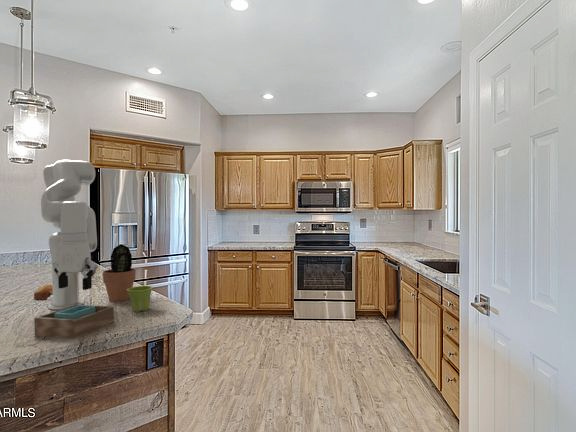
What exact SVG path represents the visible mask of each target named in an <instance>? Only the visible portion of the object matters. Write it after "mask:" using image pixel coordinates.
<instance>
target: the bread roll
mask: <svg viewBox="0 0 576 432" xmlns="http://www.w3.org/2000/svg"><path fill="white" fill-rule="evenodd" d="M50 296H53V288H52V284H44V285H42V286H39V287H38V288H37V289H36V290H35V291H34V293H33V298H34V299H35V300H37V301H45V300H46V301H47V298H49V297H50Z"/></svg>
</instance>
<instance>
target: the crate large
mask: <svg viewBox="0 0 576 432" xmlns="http://www.w3.org/2000/svg"><path fill="white" fill-rule="evenodd" d="M85 305H86V304H85ZM76 306H79V305H73V306H70V307H67V308H64V309H59V310H53V311H52V312H48V313H45V314H42V315H39V316H36V317H34V319H33V321H34V322H33V325H34V336H35V337H36V336H37V337H49V338H50V337H52V338H61V337H62V338H64V339H65V338H66V339H74V340H75V339H79V338H81V337H84V336H86V335H88V334H90V333H92V332H96V331H97V330H100V329H102V328H104V327H106V325H107V326H108V325H112V324H113V322H115V321H114V320H115V316H114V315H115V311H114V306H112V305H111V306H110V305H93V304H92V305H89V304H88V305H86V306H95V309H96V312H95V313H92V314H90V315H87V316H84V317H81V318H79V319H60V318H54V313H57V312H60V311H63V310H66V309H69V308H72V307H76ZM101 327H102V328H101ZM99 328H100V329H99Z"/></svg>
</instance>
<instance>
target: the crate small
mask: <svg viewBox="0 0 576 432" xmlns="http://www.w3.org/2000/svg"><path fill="white" fill-rule="evenodd" d="M95 306H96V305H93V306H86V304H83V305H79V306H76V307H72V308H69V309H66V310H63V311H60V312H57V313H54V318H60V319H79V318H81V317H84V316H87V315H90V314H92V313H95V312H96V309H95Z"/></svg>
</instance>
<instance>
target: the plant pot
mask: <svg viewBox="0 0 576 432" xmlns="http://www.w3.org/2000/svg"><path fill="white" fill-rule="evenodd" d="M152 290H153V286H152V285H137V286H133V287H132V288H129V289H127V291H128V293H129V295H130V299H129V300H130V304H131V309H132V311H133V312H137V313H139V312H144V311H147V310H149V309H150V303H151V302H150V301H151V294H152Z"/></svg>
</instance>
